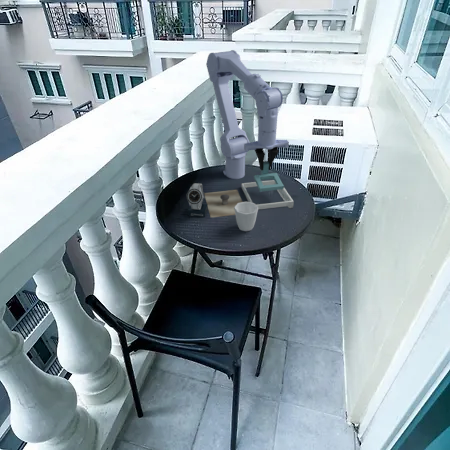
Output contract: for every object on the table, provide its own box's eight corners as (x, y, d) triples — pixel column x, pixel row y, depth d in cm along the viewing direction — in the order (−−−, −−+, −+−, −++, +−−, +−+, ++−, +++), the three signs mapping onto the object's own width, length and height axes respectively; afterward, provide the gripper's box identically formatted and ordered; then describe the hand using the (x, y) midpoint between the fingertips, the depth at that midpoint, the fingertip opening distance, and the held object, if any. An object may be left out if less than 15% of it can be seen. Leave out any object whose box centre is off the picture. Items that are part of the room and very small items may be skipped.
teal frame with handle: (252, 174, 114) (253, 162, 111) (274, 172, 115) (276, 160, 112) (259, 191, 107) (261, 178, 104) (283, 189, 108) (285, 176, 105)
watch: (186, 221, 104) (183, 191, 98) (193, 208, 111) (190, 178, 105) (204, 223, 104) (202, 192, 97) (209, 209, 110) (207, 180, 104)
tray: (241, 189, 121) (241, 183, 120) (278, 185, 123) (278, 179, 121) (252, 212, 108) (252, 206, 107) (293, 207, 110) (293, 201, 109)
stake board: (204, 195, 118) (203, 186, 116) (237, 192, 119) (237, 183, 117) (210, 220, 105) (210, 210, 103) (247, 215, 107) (247, 206, 104)
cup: (233, 236, 98) (233, 213, 93) (235, 217, 106) (235, 195, 101) (257, 237, 97) (258, 214, 92) (257, 218, 105) (258, 196, 101)
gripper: (248, 135, 100) (247, 175, 108) (293, 131, 102) (289, 171, 110) (242, 128, 106) (242, 166, 114) (286, 124, 108) (282, 163, 116)
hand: (265, 168), depth 112 cm, fingers closed on teal frame with handle
